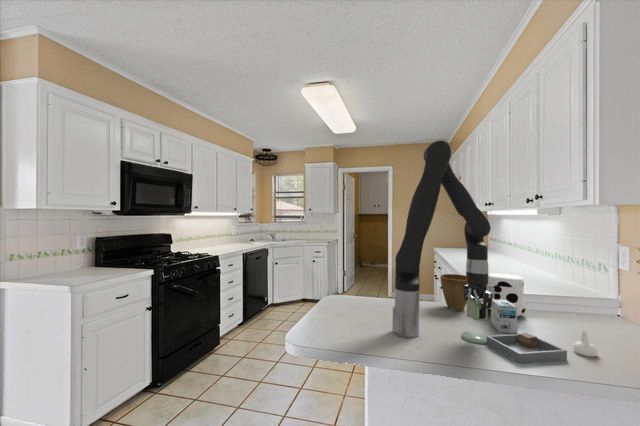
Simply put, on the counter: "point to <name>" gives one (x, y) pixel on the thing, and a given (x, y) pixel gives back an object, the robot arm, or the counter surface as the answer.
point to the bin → (526, 357)
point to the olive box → (474, 310)
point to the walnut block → (527, 340)
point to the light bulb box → (504, 316)
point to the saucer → (475, 337)
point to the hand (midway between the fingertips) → (477, 315)
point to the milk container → (507, 290)
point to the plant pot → (454, 290)
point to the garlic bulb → (585, 346)
